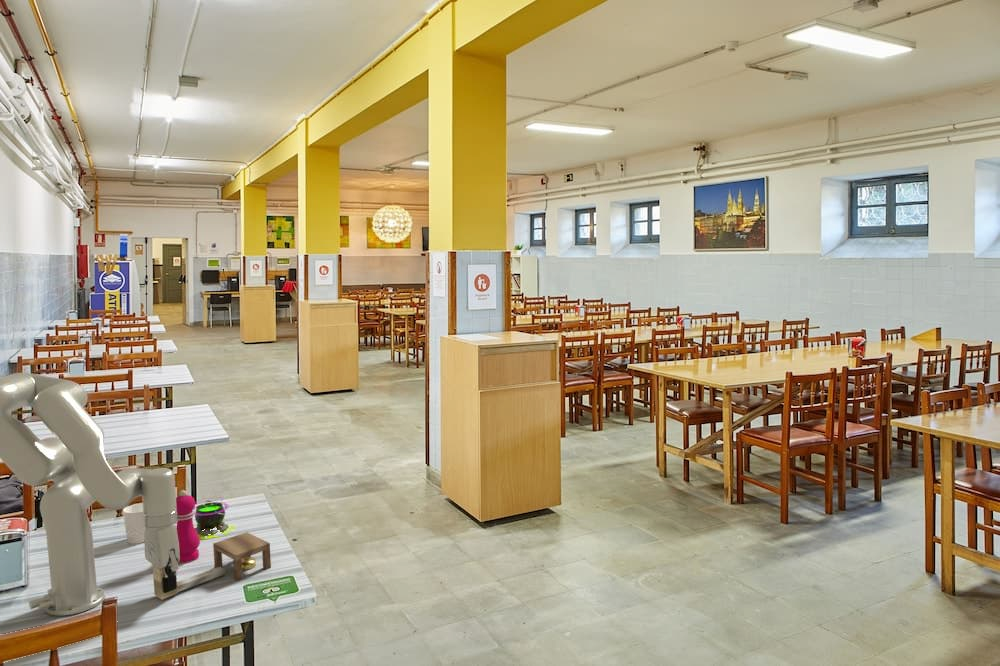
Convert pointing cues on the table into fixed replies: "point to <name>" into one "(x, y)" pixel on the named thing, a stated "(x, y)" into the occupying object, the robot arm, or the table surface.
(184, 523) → the pepper mill
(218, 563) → the small wooden table
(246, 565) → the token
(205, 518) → the toy cauldron
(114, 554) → the table surface
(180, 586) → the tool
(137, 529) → the white cup
